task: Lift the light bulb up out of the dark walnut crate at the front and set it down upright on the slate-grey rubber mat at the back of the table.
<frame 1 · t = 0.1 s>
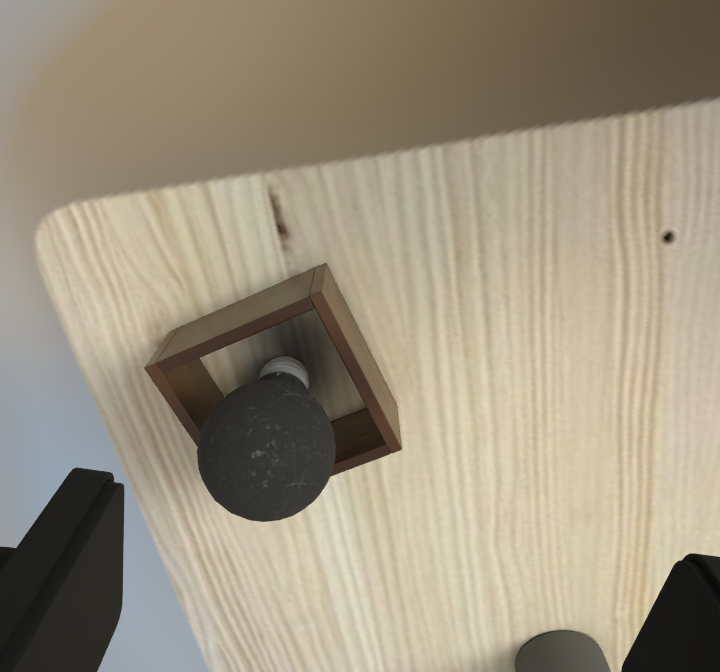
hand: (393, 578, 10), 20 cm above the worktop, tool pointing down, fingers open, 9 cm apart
bottle: (557, 657, 41), on the worktop
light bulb: (287, 368, 32), resting in crate
crate: (286, 370, 31), on the worktop
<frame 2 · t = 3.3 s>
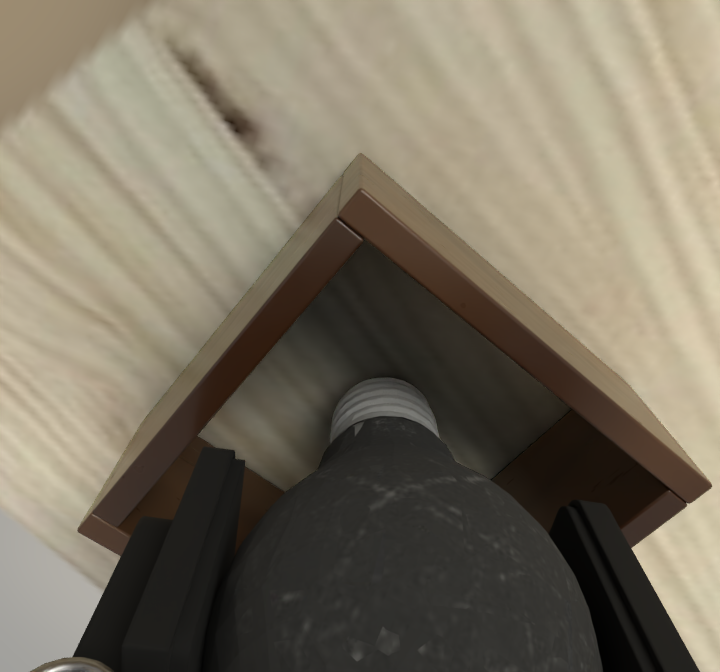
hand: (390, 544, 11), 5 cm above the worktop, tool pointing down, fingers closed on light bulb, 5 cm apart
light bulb: (381, 399, 16), resting in crate, touching gripper
crate: (382, 403, 15), on the worktop
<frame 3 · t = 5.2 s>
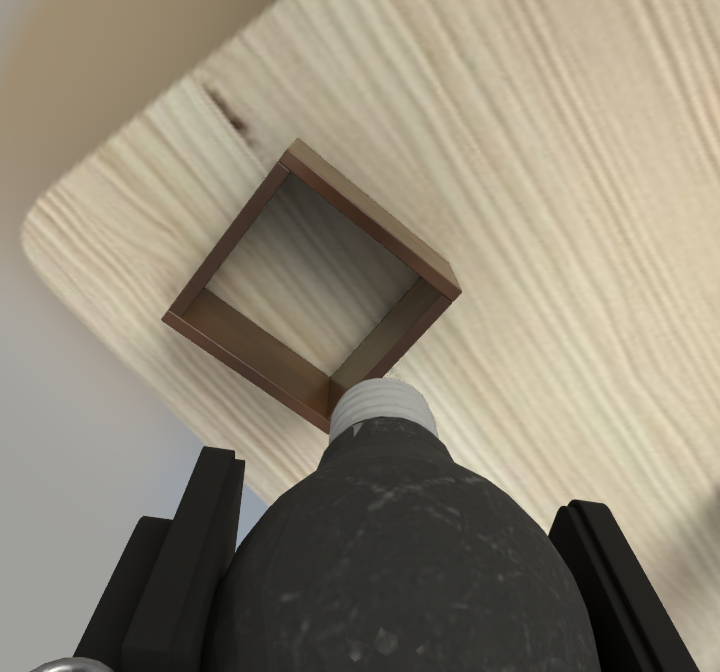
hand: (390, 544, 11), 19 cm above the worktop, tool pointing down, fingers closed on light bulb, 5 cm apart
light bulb: (380, 400, 16), point 13 cm above the worktop, touching gripper
crate: (316, 275, 28), on the worktop
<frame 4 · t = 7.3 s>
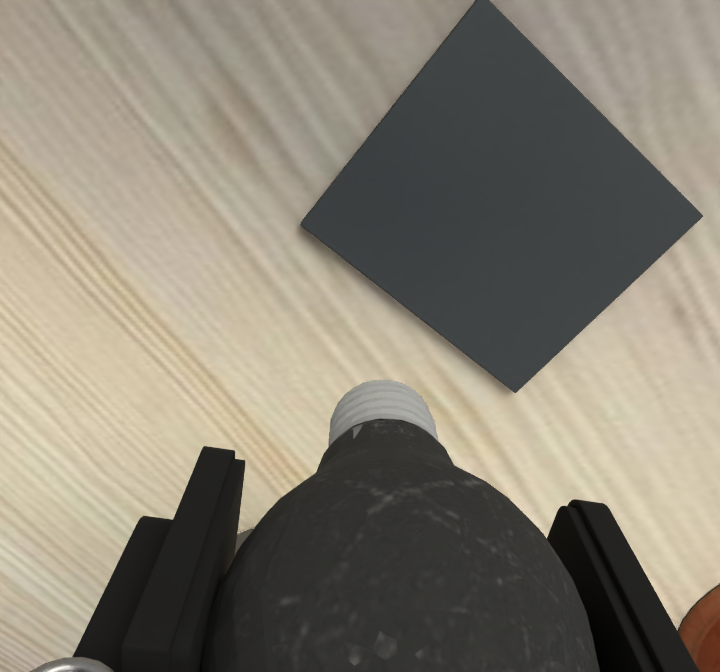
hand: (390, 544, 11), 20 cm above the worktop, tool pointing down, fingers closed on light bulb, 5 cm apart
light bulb: (380, 402, 16), point 14 cm above the worktop, touching gripper
mat: (499, 217, 28), on the worktop
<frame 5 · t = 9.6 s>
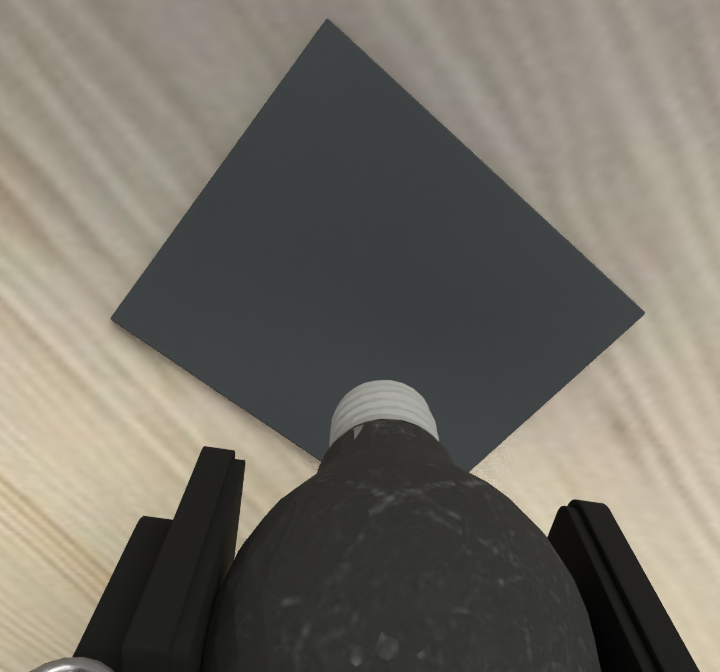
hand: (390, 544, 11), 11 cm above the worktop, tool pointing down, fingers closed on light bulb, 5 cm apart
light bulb: (381, 402, 16), point 6 cm above the worktop, touching gripper
mat: (376, 310, 21), on the worktop
when the fingers open (5 cm above the worktop, at t = 11.4 s): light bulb stays where it is, resting on mat.
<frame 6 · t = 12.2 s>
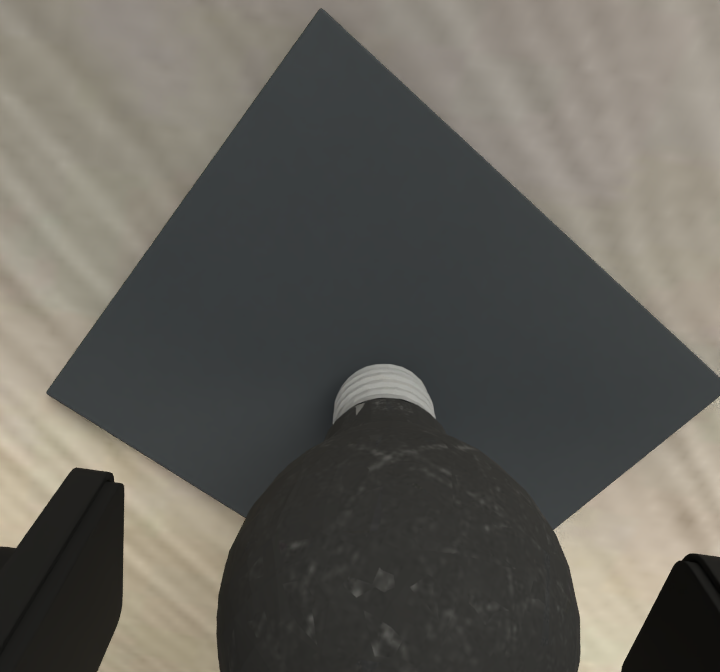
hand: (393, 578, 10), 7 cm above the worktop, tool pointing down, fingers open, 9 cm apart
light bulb: (381, 386, 16), resting on mat
mat: (385, 382, 17), on the worktop
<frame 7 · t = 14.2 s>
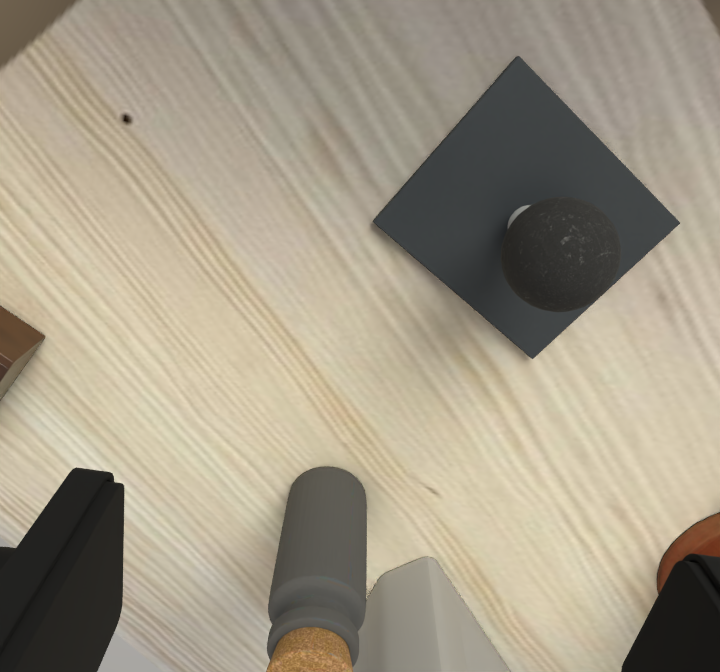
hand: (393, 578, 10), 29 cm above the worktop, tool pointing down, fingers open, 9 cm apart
bottle: (327, 496, 45), on the worktop
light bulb: (523, 221, 37), resting on mat
triangular concrete planter: (404, 658, 52), on the worktop
mat: (524, 220, 37), on the worktop
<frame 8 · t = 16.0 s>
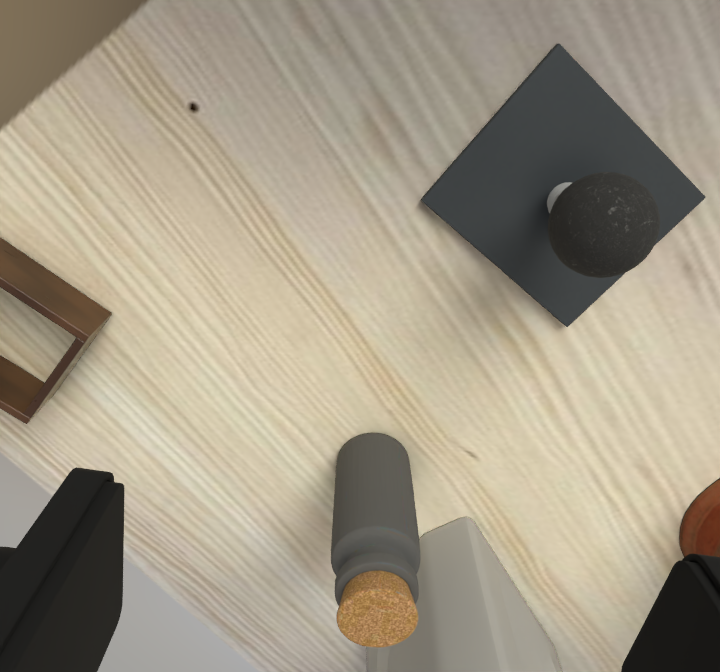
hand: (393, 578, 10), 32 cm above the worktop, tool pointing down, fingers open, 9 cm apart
bottle: (372, 461, 49), on the worktop
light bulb: (561, 198, 39), resting on mat
triangular concrete planter: (441, 615, 56), on the worktop
crate: (27, 320, 43), on the worktop
mat: (561, 197, 40), on the worktop
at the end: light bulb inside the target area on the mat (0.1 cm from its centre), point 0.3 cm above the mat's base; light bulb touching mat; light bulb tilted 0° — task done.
